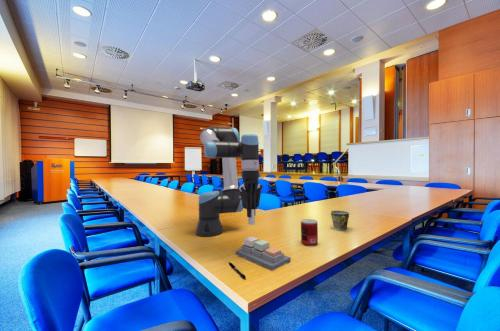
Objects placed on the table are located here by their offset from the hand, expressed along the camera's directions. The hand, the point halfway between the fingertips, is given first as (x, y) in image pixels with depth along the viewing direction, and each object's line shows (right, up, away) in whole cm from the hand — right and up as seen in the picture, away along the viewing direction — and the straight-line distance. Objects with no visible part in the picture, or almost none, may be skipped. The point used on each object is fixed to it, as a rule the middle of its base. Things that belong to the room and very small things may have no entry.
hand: (251, 224), depth 94 cm
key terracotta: (+8, -10, -9) cm, 16 cm away
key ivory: (0, -9, 0) cm, 9 cm away
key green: (+4, -9, -4) cm, 11 cm away
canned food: (+28, -13, +11) cm, 33 cm away
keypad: (+4, -13, -4) cm, 14 cm away
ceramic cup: (+52, -12, +32) cm, 63 cm away
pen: (-5, -13, -15) cm, 21 cm away
